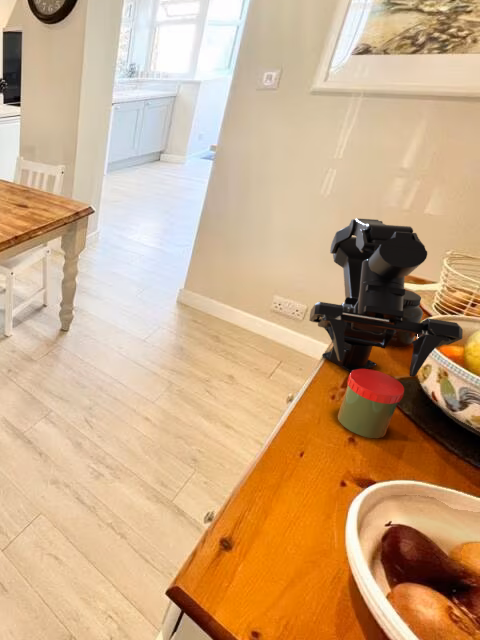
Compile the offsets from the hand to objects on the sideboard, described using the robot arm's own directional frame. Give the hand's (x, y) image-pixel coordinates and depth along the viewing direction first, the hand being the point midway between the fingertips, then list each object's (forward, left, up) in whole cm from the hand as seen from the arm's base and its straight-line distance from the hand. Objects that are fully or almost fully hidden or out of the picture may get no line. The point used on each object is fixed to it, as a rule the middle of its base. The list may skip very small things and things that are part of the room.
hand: (375, 368), depth 71 cm
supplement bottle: (-28, -13, -11) cm, 33 cm away
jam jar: (+2, +2, -11) cm, 11 cm away
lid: (+2, +2, -1) cm, 3 cm away
